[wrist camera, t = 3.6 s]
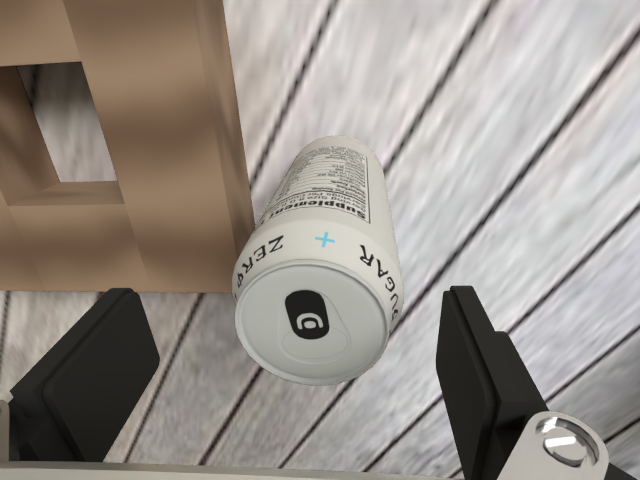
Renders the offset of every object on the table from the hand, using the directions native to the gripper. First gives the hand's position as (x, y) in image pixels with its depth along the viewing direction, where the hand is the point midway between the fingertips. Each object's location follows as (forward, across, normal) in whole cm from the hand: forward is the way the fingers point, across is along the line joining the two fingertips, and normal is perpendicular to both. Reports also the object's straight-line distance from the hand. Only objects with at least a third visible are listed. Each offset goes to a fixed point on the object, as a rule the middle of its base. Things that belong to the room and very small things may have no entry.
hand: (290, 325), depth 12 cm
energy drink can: (+15, -1, 0) cm, 15 cm away
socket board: (+16, +15, -4) cm, 22 cm away
